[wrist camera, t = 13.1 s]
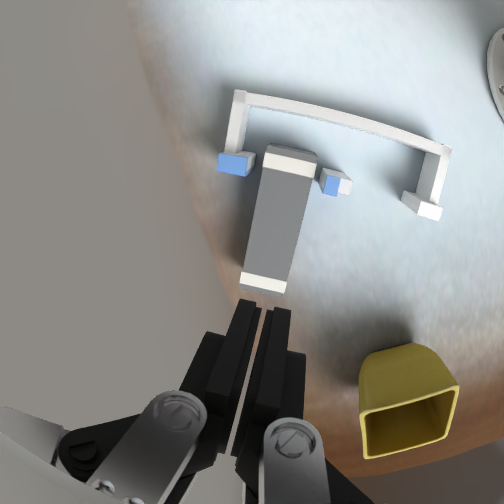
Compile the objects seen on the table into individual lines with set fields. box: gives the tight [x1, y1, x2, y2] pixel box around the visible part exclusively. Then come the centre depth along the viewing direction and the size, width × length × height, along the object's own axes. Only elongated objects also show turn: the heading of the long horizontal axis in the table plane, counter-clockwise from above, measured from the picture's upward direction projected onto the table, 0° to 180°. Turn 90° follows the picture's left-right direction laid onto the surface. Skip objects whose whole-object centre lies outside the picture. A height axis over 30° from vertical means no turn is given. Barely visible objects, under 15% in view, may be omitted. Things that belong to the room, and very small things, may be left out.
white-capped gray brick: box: [239, 143, 318, 298], centre depth 24 cm, size 11×4×4 cm, turn 170°
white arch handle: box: [216, 90, 452, 221], centre depth 20 cm, size 6×16×4 cm, turn 80°
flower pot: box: [359, 343, 459, 459], centre depth 25 cm, size 9×9×9 cm
